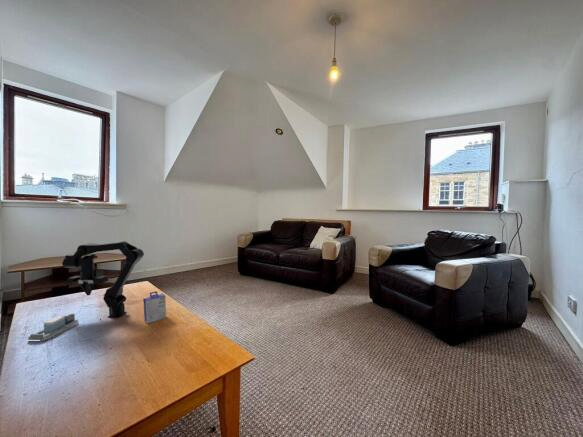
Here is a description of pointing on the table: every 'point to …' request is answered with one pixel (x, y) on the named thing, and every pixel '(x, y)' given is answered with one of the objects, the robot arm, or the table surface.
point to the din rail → (43, 336)
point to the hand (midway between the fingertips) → (88, 295)
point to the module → (54, 324)
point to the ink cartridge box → (154, 307)
